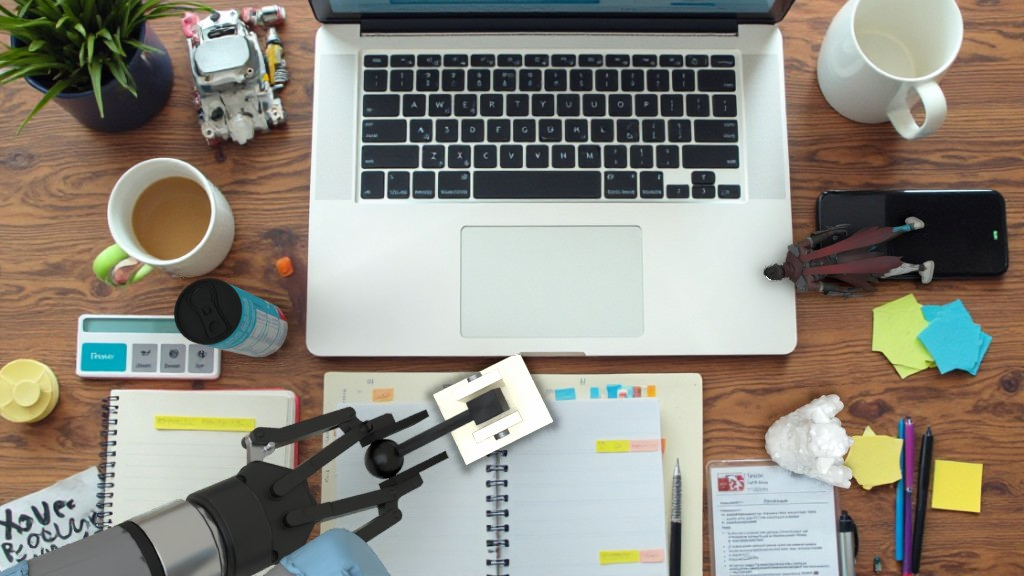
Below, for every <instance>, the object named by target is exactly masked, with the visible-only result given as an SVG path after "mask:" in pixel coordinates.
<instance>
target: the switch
mask: <svg viewBox="0 0 1024 576" xmlns="http://www.w3.org/2000/svg"><path fill="white" fill-rule="evenodd" d="M466 405H467V407H468V409H467V410H465V411H463V412H461V413H459V414H457V415H455V416H453V417H452V418H450V419H448V420H446V421H445V420H444V421H442V422H439V423H438V424H435V425H434V426H432V427H430V428H427V429H426V430H423V431H422V432H420V433H418V434H417V435H414V436H413V437H411V438H408V439H407V440H404V441H402V442H400V443H398V442H397V441H395V440H393V439H390V438H384V439H379V440H377V441H375V442H373V443H372V444H370V445H368V446H367V448H366V451H365V453H364V455H363V456H364V457H363V461H364V463H363V464H364V467H365V469H366V471H367V472H368V474H369V475H371V476H372V477H374V478H375V479H379V480H387V479H389V478H391V477H393V476H395V475H397V474H399V473H400V472H401V470H402V468H403V466H404V463H405V456H407V455H409V454H411V453H413V452H415V451H416V450H418V449H420V448H422V447H424V446H426V445H429V444H431V443H433V442H435V441H436V440H438V439H441V438H443V437H444V436H446V435H448V434H451V432H452V431H454V430H456V429H458V428H460V427H462V426H464V425H466V424H468V423H470V422H472V421H474V422H475V424H476V425H479V424H482V423H484V422H486V421H488V420H490V419H492V418H494V417H496V416H498V415H500V414H502V413H504V412H506V411H508V410H510V407H509V405H508V403H507V401H506V399H505V397H504V395H503V393H502V391H501V389H500V387H498V388H495V389H492V390H490V391H488V392H486V393H484V394H482V395H480V396H478V397H476V398H474V399H472V400H470V401H468V402H466Z"/></svg>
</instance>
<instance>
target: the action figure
mask: <svg viewBox="0 0 1024 576" xmlns="http://www.w3.org/2000/svg"><path fill="white" fill-rule="evenodd" d="M904 223H905V224H904V225H901V226H895V227H894V226H893V227H891V226H884V227H880V226H879V225H878V226H875V225H874V226H866V227H862V228H861V229H859V230H858V231H856V232H855V233H852V234H851V236H849V233H848V230H846V229H845V228H847V226H851V224H849V223H841V224H836V225H835V226H831V225H825V226H824V227H825V228H826V229H825V230H817V231H813V232H810V233H809V236H807V237H804V239H803V238H802V239H801V240H799V241H798V242H795V243H794V244H793V243H792V244H789V245H787V252H786V257H785V260H784V262H782V264H778V263H777V262H776V263H775V262H774V263H771V264H770V265H768V266H766V265H765V267H764V268H763V273H762V274H763V276H765V277H766V276H767V277H768V278H769V279H771V280H776V281H778V280H779V281H782V280H784V279H788V280H789V281H791V282H792V283H794V284H795V286H796V289H797V292H798V293H805V292H816V293H819V294H820V293H822V292H823V295H824V296H825V297H834V296H835V297H836V296H840V298H843V301H845V300H847V299H850V298H860V297H861V298H862V297H864V296H867V295H868V294H869V293H862V294H861V293H860V294H857V293H859V292H862V290H866V291H871V292H872V291H879V289H877V288H875V286H873V285H872V284H870V283H869V282H872V283H876V284H880V281H879V279H886V278H890V277H891V276H899V275H903V274H909V273H915V272H917V273H918V274H919V276H921V282H922V284H929V283H930V282H931V281H932V279H933V275H934V269H935V262H934V260H927V261H924V262H923V263H917V264H916V263H915V264H913V263H907V262H905V261H902V260H901V259H902V258H903V256H892V255H885V254H886V253H884V252H883V251H882V252H881V251H880V250H877V251H876V250H875V249H877V248H878V247H880V246H881V245H883V244H885V243H887V242H889V241H891V240H894V239H896V238H898V237H900V236H901V235H903V234H904V233H907V232H910V231H913V230H918V229H923V228H924V227H925V223H924V222H923V220H921V219H919V218H918V217H915V216H909V217H906V219H905V220H904ZM879 227H880V228H879ZM844 235H845V236H844ZM832 236H837V237H847V238H844V239H842V240H839V241H836V242H834V243H833V244H831V245H828V246H825V247H823V248H820V249H815V250H814V249H813V248H814V247H815V246H816V245H819V244H821V243H822V242H824V241H826V240H827V239H828V238H830V237H832ZM848 236H849V237H848ZM873 250H875V251H873ZM783 278H784V279H783ZM825 278H830V279H837V280H840V281H842V282H845V283H848V284H849V285H851V286H852V287H843V286H840V285H838V284H834V283H830V282H823V281H822V280H823V279H825ZM878 278H879V279H878Z"/></svg>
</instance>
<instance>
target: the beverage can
mask: <svg viewBox="0 0 1024 576" xmlns="http://www.w3.org/2000/svg"><path fill="white" fill-rule="evenodd" d="M173 319H174V323H175V326H176V329H177V330H178V332H179V333H180V334H181V335H182V337H184V338H185V339H186V340H187V341H190V342H192V343H194V344H197V345H200V346H201V345H202V346H205V347H209V348H213V349H218V350H222V351H226V352H231V353H235V354H238V355H239V354H240V355H242V356H243V355H244V356H248V357H253V358H264V357H268V356H270V355H272V354H274V353H275V352H277V351H278V350H279V349H281V347H282V346H283V345H284V343H285V341H286V339H287V336H288V333H289V332H288V330H289V325H288V320H287V317H286V315H285V313H284V312H283V310H282V309H281V308H280V307H278V305H276V304H274V303H272V302H270V301H267V300H265V299H263V298H261V297H258V296H257V295H255V294H252V293H250V292H248V291H246V290H244V289H241V288H240V287H237V286H235V285H232V284H230V283H228V282H226V281H224V280H221V279H219V278H213V277H206V278H200V279H198V280H195V281H193V282H192V283H189V284H188V285H187V286H186V287H185V288H184V289H182V290H181V292H180V293H179V295H178V297H177V299H176V301H175V304H174V309H173Z"/></svg>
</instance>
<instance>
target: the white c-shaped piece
mask: <svg viewBox="0 0 1024 576" xmlns="http://www.w3.org/2000/svg"><path fill="white" fill-rule="evenodd" d="M498 387H500V389H501V391H502V393H503V395H504V397H505V399H506V401H507V403H508V405H509V407H510V410H508V411H506V412H504V413H502V414H500V415H498V416H496V417H494V418H492V419H490V420H488V421H486V422H484V423H482V424H479V425H476V424H475V422H474V421H472V422H470V423H468V424H466V425H464V426H462V427H460V428H458V429H456V430H454V431H452V432H450V434H451V436H452V438H453V441H454V442H455V445H456V447H457V449H458V451H459V454H460V455H461V457H462V460H463V462H464V464H465V466H468V465H470V464H472V463H475V462H476V461H478V460H480V459H482V458H484V457H486V456H487V455H490V454H492V453H494V452H496V451H498V450H500V449H502V448H504V447H506V446H508V445H510V444H511V443H514V442H515V441H518V440H519V439H522V438H524V437H526V436H528V435H530V434H531V433H534V432H536V431H537V430H540V429H542V428H543V427H546V426H548V425H550V424H552V423H554V419H553V418H552V416H551V414H550V412H549V409H548V407H547V405H546V403H545V402H544V399H543V397H542V395H541V393H540V391H539V389H538V387H537V385H536V383H535V381H534V379H533V377H532V375H531V372H530V371H529V369H528V366H527V365H526V363H525V361H524V359H523V357H522V354H520V355H516V356H512V355H510V356H509V357H506V358H504V359H502V360H500V361H499V362H496V363H494V364H492V365H490V366H488V367H486V368H484V369H482V370H480V371H478V372H476V373H474V374H471V375H470V376H467V377H465V378H463V379H462V380H459V381H458V382H455V383H453V384H452V385H450V386H447V387H446V388H443V389H441V390H439V391H437V392H435V393H433V394H432V396H433V399H434V400H435V402H436V404H437V407H438V408H439V411H440V413H441V415H442V417H443V419H444V421H446V420H448V419H450V418H452V417H453V416H455V415H457V414H459V413H461V412H463V411H465V410H467V409H468V407H467V405H466V402H468V401H470V400H472V399H474V398H476V397H478V396H480V395H482V394H484V393H486V392H488V391H490V390H492V389H495V388H498Z"/></svg>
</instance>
